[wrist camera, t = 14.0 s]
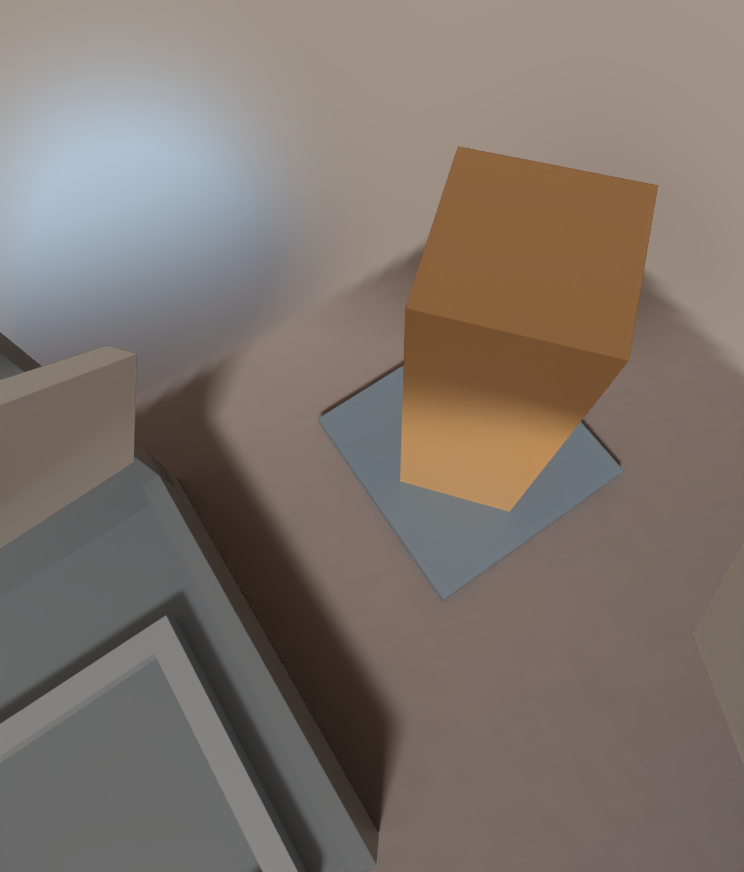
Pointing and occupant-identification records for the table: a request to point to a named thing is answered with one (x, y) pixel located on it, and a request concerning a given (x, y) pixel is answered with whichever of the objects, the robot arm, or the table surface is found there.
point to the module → (516, 320)
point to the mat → (448, 515)
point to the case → (153, 701)
